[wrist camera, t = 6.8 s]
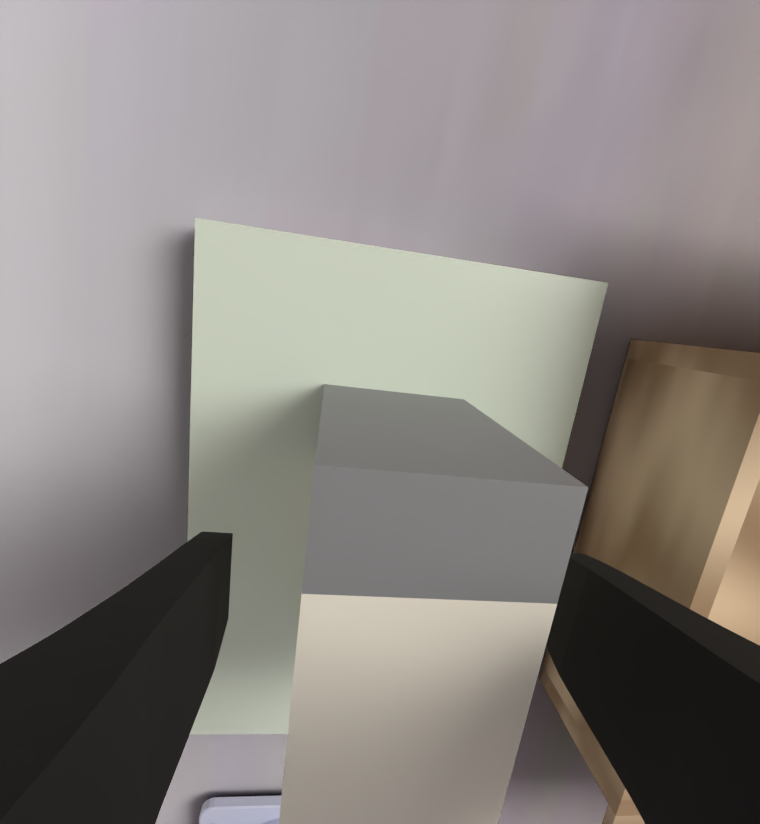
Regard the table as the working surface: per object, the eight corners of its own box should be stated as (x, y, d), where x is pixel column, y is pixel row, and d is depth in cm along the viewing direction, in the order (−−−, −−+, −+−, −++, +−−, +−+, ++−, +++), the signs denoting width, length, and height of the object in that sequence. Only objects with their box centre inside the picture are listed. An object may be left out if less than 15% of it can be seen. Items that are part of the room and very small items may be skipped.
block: (421, 632, 14) (485, 870, 8) (299, 628, 13) (273, 882, 7) (463, 399, 12) (588, 487, 6) (324, 383, 11) (314, 465, 5)
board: (486, 707, 16) (495, 732, 15) (192, 706, 15) (182, 734, 14) (587, 284, 12) (608, 282, 11) (207, 225, 11) (195, 217, 10)
